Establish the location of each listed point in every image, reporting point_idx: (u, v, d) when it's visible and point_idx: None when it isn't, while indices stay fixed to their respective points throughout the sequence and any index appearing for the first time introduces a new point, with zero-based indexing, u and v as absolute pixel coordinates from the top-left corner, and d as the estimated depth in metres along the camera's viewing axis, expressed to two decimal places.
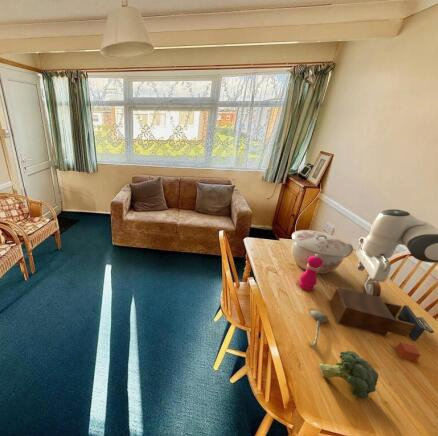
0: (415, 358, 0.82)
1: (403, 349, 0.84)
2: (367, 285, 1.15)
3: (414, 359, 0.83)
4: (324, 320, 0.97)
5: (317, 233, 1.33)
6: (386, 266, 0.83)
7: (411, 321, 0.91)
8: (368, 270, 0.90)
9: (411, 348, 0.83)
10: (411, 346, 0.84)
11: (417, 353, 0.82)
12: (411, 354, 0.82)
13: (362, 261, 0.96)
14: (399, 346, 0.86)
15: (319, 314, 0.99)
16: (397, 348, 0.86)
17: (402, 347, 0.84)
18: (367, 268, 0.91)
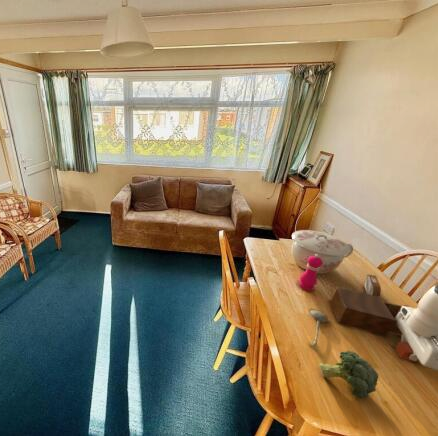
0: None
1: (403, 349, 0.84)
2: (367, 285, 1.15)
3: None
4: (324, 320, 0.97)
5: (317, 233, 1.33)
6: None
7: None
8: (415, 351, 0.79)
9: (411, 348, 0.83)
10: None
11: None
12: None
13: (405, 335, 0.84)
14: (399, 346, 0.86)
15: (319, 314, 0.99)
16: (397, 349, 0.86)
17: (402, 347, 0.84)
18: (414, 347, 0.80)
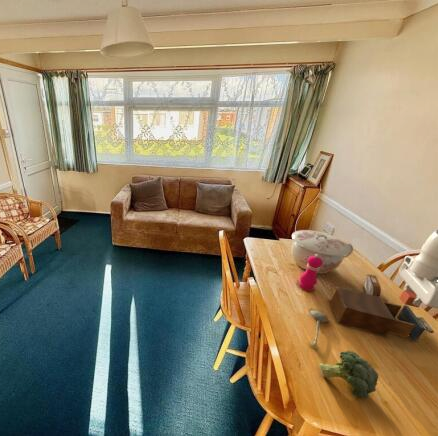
0: None
1: (407, 296, 0.87)
2: (367, 285, 1.15)
3: None
4: (324, 320, 0.97)
5: (317, 233, 1.33)
6: None
7: (411, 321, 0.91)
8: (419, 294, 0.82)
9: (414, 294, 0.87)
10: (414, 293, 0.88)
11: None
12: None
13: (409, 283, 0.88)
14: (403, 294, 0.89)
15: (319, 314, 0.99)
16: (401, 297, 0.90)
17: (406, 294, 0.88)
18: (417, 292, 0.83)
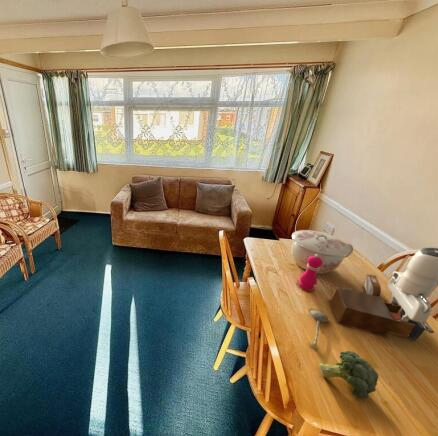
0: None
1: None
2: (367, 285, 1.15)
3: None
4: (324, 320, 0.97)
5: (317, 233, 1.33)
6: (427, 308, 0.80)
7: (411, 321, 0.91)
8: (405, 308, 0.87)
9: (396, 316, 0.94)
10: (396, 314, 0.95)
11: (401, 320, 0.92)
12: None
13: (396, 297, 0.93)
14: None
15: (319, 314, 0.99)
16: None
17: None
18: (403, 306, 0.88)
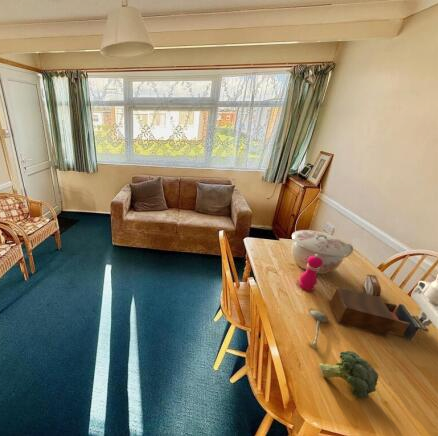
0: None
1: None
2: (367, 285, 1.15)
3: None
4: (324, 320, 0.97)
5: (317, 233, 1.33)
6: None
7: (406, 320, 0.92)
8: (432, 320, 0.85)
9: None
10: (391, 313, 0.95)
11: (396, 318, 0.93)
12: None
13: (422, 307, 0.90)
14: None
15: (319, 314, 0.99)
16: None
17: None
18: (430, 317, 0.86)
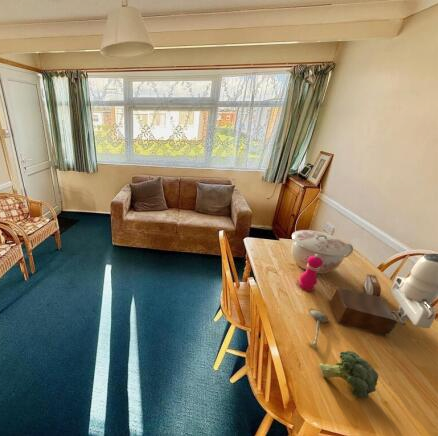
0: None
1: None
2: (367, 285, 1.15)
3: None
4: (324, 320, 0.97)
5: (317, 233, 1.33)
6: (431, 314, 0.80)
7: None
8: (408, 314, 0.88)
9: None
10: None
11: None
12: None
13: (400, 302, 0.93)
14: None
15: (319, 314, 0.99)
16: None
17: None
18: (407, 311, 0.88)
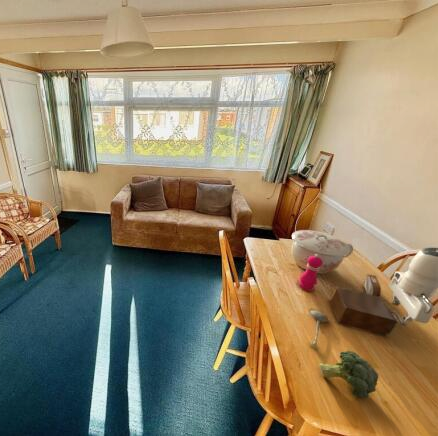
0: None
1: None
2: (367, 285, 1.15)
3: None
4: (324, 320, 0.97)
5: (317, 233, 1.33)
6: (429, 308, 0.80)
7: None
8: (407, 309, 0.87)
9: None
10: None
11: None
12: None
13: (398, 297, 0.93)
14: None
15: (319, 314, 0.99)
16: None
17: None
18: (406, 306, 0.88)
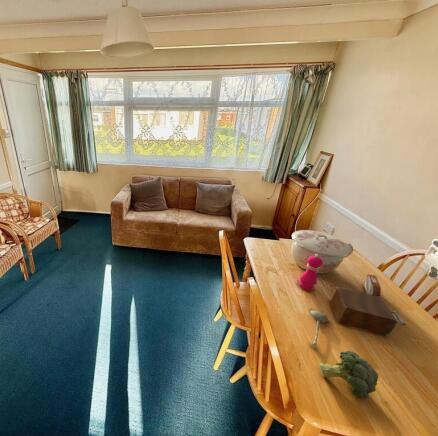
0: None
1: None
2: (367, 285, 1.15)
3: None
4: (324, 320, 0.97)
5: (317, 233, 1.33)
6: None
7: None
8: None
9: None
10: None
11: None
12: None
13: None
14: None
15: (319, 314, 0.99)
16: None
17: None
18: None
